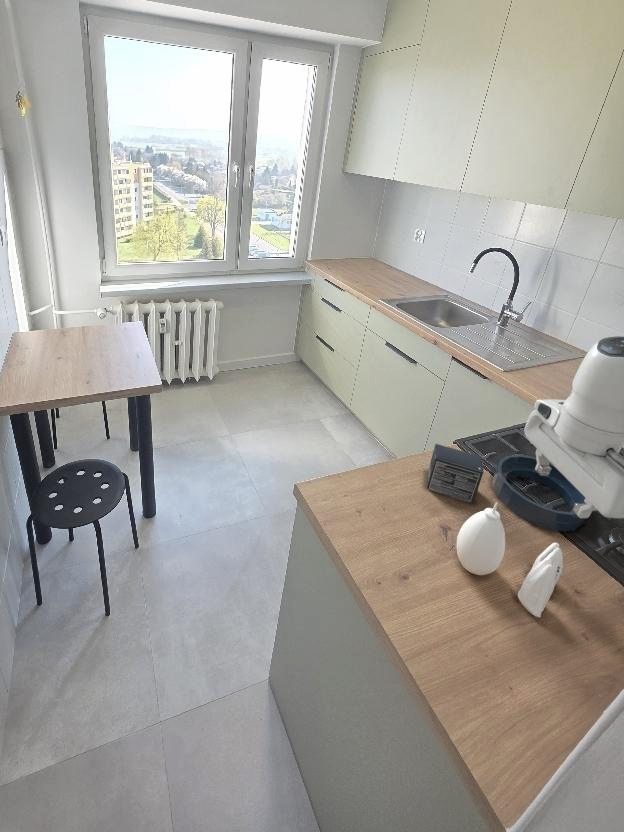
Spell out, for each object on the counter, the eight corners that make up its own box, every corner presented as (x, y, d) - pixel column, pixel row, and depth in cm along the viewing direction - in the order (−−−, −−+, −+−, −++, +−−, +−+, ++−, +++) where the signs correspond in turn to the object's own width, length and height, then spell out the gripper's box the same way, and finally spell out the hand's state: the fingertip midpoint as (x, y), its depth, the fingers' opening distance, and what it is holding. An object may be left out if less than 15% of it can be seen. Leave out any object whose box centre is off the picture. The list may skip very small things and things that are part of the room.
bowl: (553, 477, 109) (561, 459, 106) (599, 539, 92) (610, 519, 89) (479, 468, 111) (486, 450, 108) (511, 527, 94) (519, 508, 91)
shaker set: (536, 625, 75) (557, 585, 70) (510, 607, 78) (529, 567, 73) (555, 583, 82) (576, 545, 78) (531, 568, 85) (550, 529, 80)
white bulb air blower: (454, 579, 82) (479, 513, 75) (447, 545, 89) (469, 482, 82) (498, 591, 80) (527, 524, 73) (487, 555, 87) (513, 491, 80)
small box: (471, 487, 104) (483, 455, 100) (472, 506, 99) (485, 473, 94) (426, 473, 108) (435, 441, 104) (425, 491, 103) (435, 458, 98)
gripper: (668, 477, 59) (627, 545, 65) (562, 395, 78) (538, 453, 84) (625, 477, 59) (588, 544, 65) (530, 395, 78) (507, 453, 83)
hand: (559, 492), depth 74 cm, fingers open, 8 cm apart
